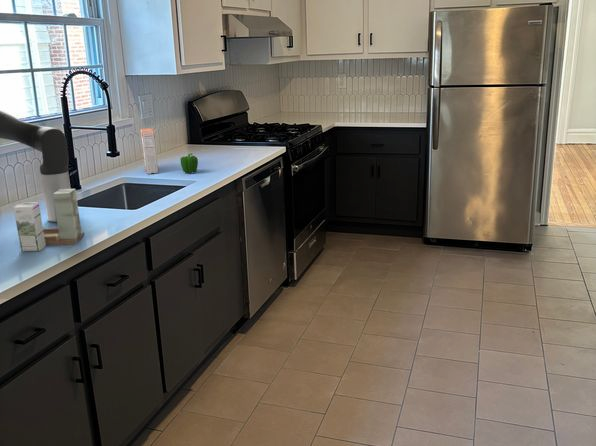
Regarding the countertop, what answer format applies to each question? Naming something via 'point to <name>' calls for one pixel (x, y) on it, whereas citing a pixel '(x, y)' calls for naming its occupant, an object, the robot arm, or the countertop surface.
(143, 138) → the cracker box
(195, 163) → the bell pepper
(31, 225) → the syrup box
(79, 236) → the wooden tray with block
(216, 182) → the countertop surface
